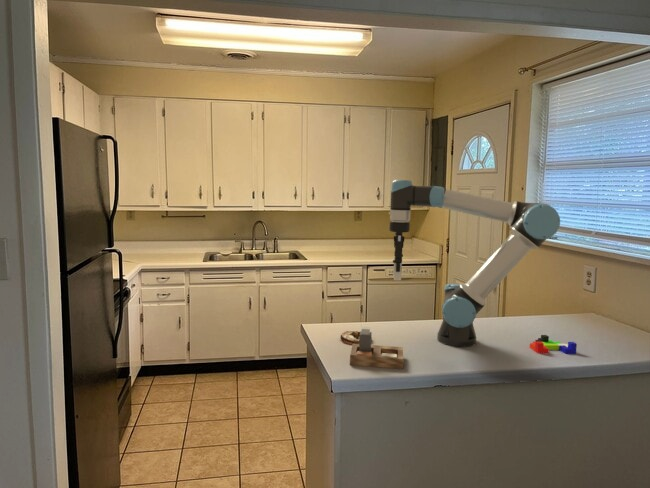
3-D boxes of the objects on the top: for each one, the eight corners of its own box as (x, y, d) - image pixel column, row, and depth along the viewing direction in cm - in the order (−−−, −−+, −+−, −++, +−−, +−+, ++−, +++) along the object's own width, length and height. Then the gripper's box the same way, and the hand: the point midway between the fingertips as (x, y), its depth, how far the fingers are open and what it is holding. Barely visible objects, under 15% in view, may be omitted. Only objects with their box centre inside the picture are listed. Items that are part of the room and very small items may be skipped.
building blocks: (558, 343, 197) (559, 333, 197) (575, 354, 185) (577, 343, 184) (522, 343, 197) (522, 332, 196) (537, 354, 184) (538, 343, 183)
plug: (370, 353, 173) (371, 326, 172) (370, 357, 169) (371, 330, 168) (359, 353, 174) (360, 325, 173) (358, 357, 170) (359, 329, 169)
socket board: (402, 356, 176) (402, 345, 176) (402, 368, 164) (403, 357, 164) (352, 352, 178) (353, 342, 178) (349, 364, 167) (350, 353, 166)
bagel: (341, 333, 202) (342, 323, 202) (377, 337, 198) (377, 327, 198) (332, 344, 188) (333, 334, 188) (370, 349, 184) (371, 338, 184)
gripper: (389, 218, 196) (387, 270, 199) (389, 223, 171) (386, 282, 174) (408, 219, 195) (406, 271, 198) (411, 224, 170) (408, 283, 173)
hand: (397, 276), depth 186 cm, fingers open, 13 cm apart
